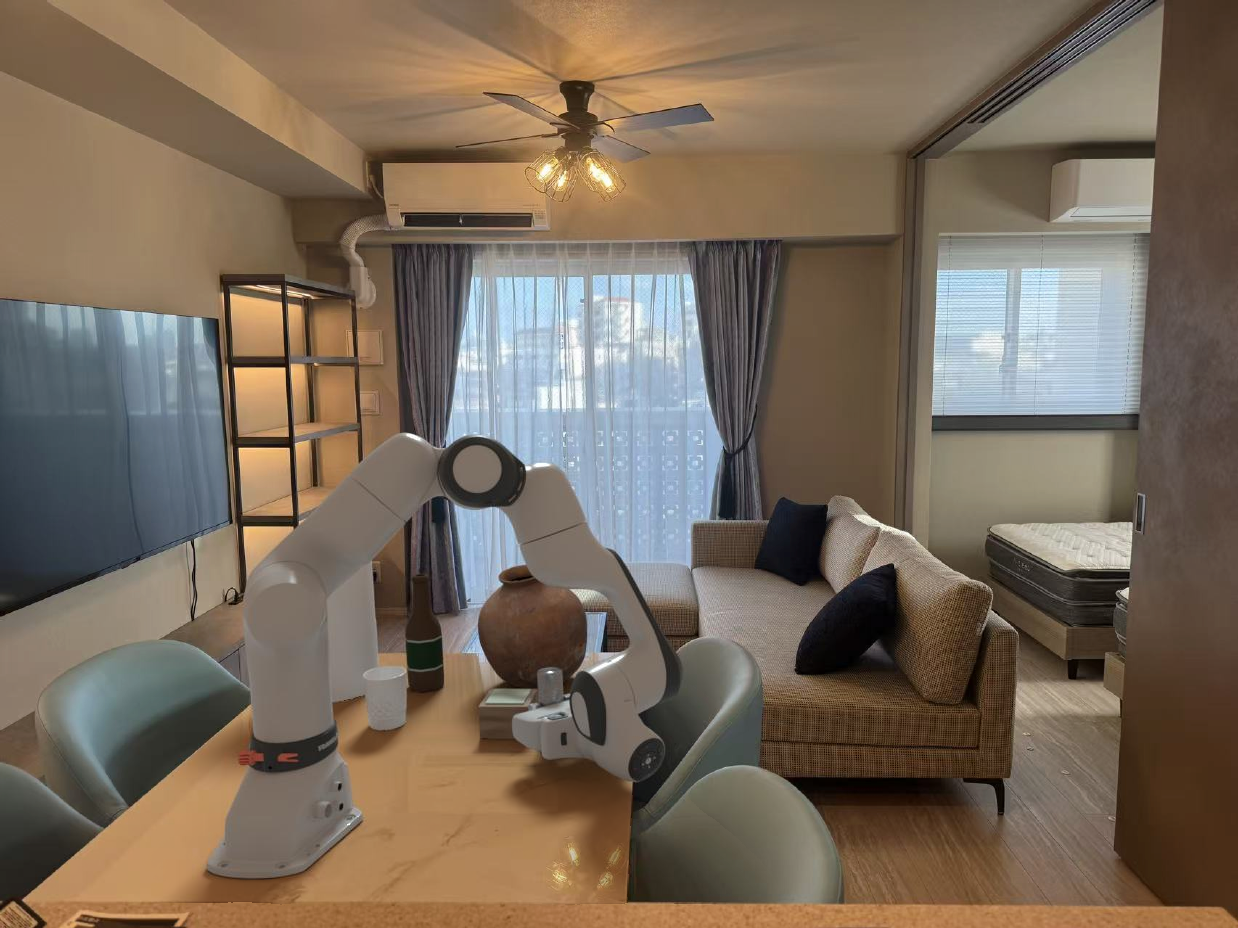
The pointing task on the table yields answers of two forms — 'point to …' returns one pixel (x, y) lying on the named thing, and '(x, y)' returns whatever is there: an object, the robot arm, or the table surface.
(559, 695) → the grey cylindrical bottle
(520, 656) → the pottery
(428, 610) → the beer bottle
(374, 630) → the cylinder
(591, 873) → the table surface
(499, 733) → the stand block
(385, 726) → the white cup
